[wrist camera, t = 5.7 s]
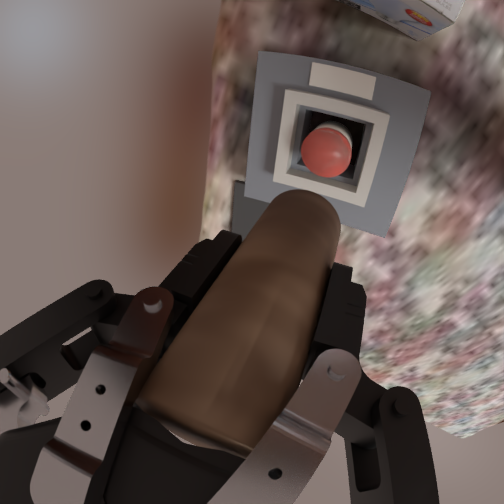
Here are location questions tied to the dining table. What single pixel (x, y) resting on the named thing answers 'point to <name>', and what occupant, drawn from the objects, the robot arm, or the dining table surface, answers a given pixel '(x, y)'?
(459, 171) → the dining table surface
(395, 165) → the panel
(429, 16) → the light bulb box
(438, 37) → the dining table surface
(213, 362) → the dowel
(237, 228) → the mat
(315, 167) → the plunger
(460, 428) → the dining table surface
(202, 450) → the robot arm
